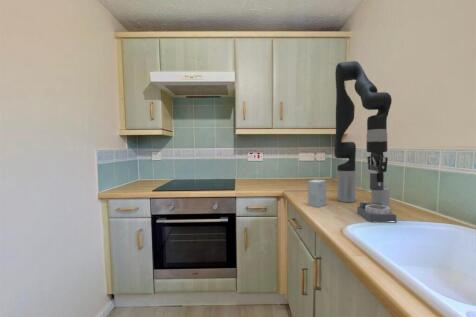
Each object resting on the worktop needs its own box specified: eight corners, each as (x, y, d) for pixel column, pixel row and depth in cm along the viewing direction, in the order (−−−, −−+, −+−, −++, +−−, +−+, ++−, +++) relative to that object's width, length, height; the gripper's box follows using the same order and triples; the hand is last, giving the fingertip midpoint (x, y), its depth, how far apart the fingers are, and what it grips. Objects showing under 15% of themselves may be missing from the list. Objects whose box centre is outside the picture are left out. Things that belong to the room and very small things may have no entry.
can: (383, 207, 119) (383, 183, 119) (393, 211, 112) (393, 185, 111) (368, 207, 119) (368, 183, 119) (377, 211, 112) (377, 186, 111)
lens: (367, 188, 103) (367, 165, 103) (380, 188, 102) (380, 165, 102) (372, 190, 98) (372, 166, 98) (386, 190, 97) (386, 165, 97)
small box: (315, 202, 132) (315, 179, 132) (326, 204, 128) (326, 180, 127) (307, 205, 127) (307, 181, 126) (319, 207, 122) (318, 182, 122)
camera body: (357, 212, 110) (357, 200, 110) (380, 213, 109) (380, 200, 109) (369, 221, 96) (369, 207, 96) (396, 222, 95) (396, 208, 95)
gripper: (360, 141, 107) (361, 179, 108) (374, 140, 93) (374, 183, 94) (378, 141, 106) (378, 179, 107) (395, 139, 92) (395, 183, 92)
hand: (376, 181), depth 100 cm, fingers closed on lens, 5 cm apart
